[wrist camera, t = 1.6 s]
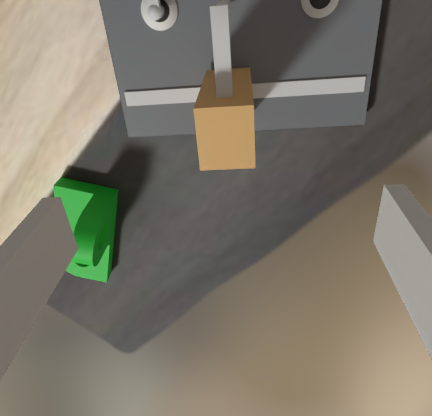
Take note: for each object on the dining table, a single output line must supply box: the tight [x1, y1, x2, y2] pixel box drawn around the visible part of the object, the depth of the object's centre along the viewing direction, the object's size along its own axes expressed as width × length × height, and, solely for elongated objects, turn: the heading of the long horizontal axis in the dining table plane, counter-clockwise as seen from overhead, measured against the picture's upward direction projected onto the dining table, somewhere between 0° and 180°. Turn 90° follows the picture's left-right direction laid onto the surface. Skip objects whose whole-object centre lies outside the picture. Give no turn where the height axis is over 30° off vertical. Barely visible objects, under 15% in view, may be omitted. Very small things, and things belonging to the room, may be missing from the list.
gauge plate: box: [99, 0, 382, 137], centre depth 29 cm, size 13×21×4 cm, turn 94°
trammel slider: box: [193, 0, 255, 171], centre depth 25 cm, size 9×4×10 cm, turn 4°
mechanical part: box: [54, 177, 118, 282], centre depth 38 cm, size 12×6×8 cm, turn 168°
